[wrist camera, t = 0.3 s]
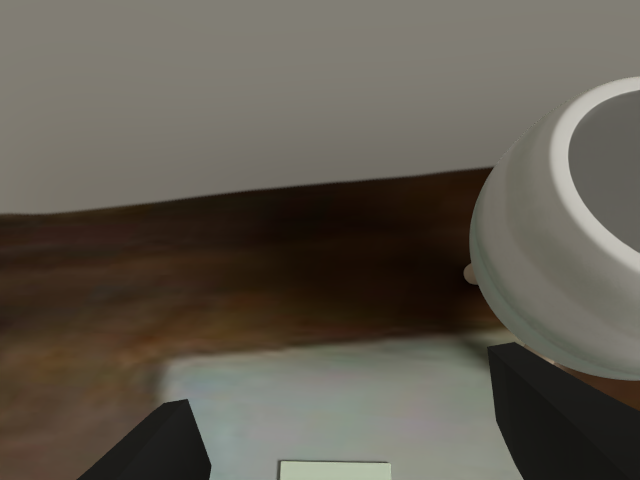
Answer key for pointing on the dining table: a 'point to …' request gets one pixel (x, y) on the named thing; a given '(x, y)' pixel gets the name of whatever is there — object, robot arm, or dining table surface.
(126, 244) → the dining table surface
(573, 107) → the planter
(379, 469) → the sage mat
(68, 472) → the dining table surface
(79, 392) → the dining table surface
